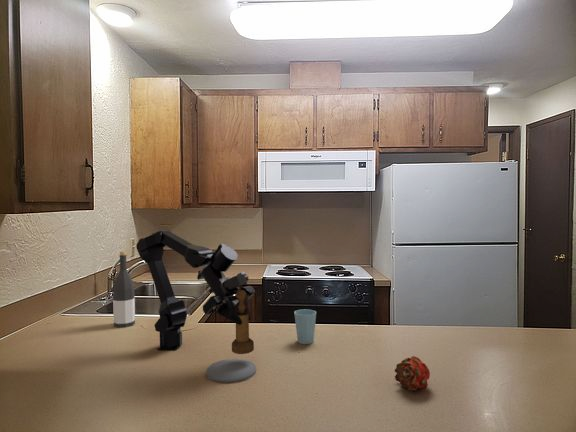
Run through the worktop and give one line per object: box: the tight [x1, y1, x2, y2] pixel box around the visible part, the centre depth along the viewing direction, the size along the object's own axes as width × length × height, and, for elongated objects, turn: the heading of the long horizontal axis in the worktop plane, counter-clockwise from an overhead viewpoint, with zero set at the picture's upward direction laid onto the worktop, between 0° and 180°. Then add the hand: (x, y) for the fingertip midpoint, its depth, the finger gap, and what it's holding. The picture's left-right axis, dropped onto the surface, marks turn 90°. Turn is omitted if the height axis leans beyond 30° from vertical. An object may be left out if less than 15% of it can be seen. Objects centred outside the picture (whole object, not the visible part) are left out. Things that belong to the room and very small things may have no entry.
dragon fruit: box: [394, 355, 431, 392], centre depth 103 cm, size 8×8×12 cm
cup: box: [293, 308, 317, 345], centre depth 139 cm, size 8×8×10 cm
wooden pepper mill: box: [231, 289, 255, 355], centre depth 118 cm, size 7×6×18 cm
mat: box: [206, 358, 257, 384], centre depth 114 cm, size 14×14×1 cm
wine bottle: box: [112, 250, 136, 329], centre depth 161 cm, size 8×8×30 cm
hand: (245, 322), depth 117 cm, fingers closed on wooden pepper mill, 4 cm apart
